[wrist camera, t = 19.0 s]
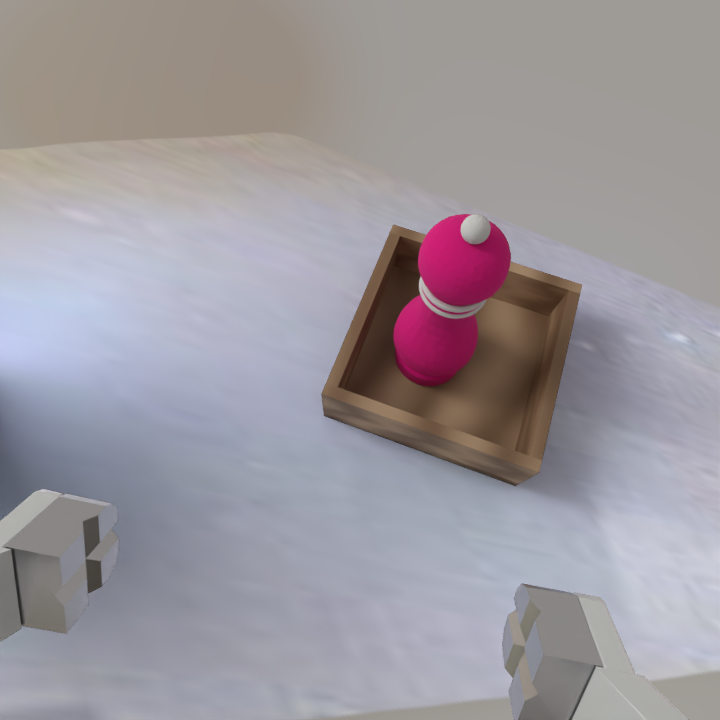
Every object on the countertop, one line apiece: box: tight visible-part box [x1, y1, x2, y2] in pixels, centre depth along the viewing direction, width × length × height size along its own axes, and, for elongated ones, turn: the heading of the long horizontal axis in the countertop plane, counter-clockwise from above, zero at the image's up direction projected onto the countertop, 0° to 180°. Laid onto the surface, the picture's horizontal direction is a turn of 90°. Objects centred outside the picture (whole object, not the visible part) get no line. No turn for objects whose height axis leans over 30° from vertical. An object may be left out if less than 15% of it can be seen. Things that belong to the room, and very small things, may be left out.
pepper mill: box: [393, 214, 511, 386], centre depth 40 cm, size 7×7×20 cm
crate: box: [322, 225, 582, 486], centre depth 47 cm, size 18×18×6 cm
